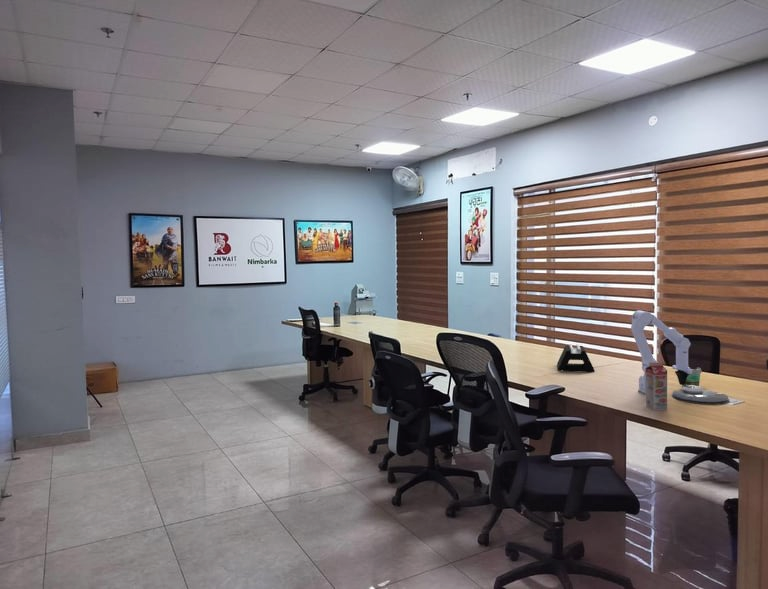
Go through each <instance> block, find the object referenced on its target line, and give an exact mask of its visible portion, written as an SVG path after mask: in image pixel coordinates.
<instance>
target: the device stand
mask: <svg viewBox="0 0 768 589" xmlns="http://www.w3.org/2000/svg"><path fill="white" fill-rule="evenodd" d="M570 361H582V363H571V362H570ZM556 363H557V364H556V365H557V371H558V370H563V371H562V372H574V371H586V372H585V373H595V372H596V371H595V368H594V366H593V363H592V362H591V360H590V358H589V355H588V354H587V352H586V350H585V347H584V346H583V345H580V344H578V343H576V347H573V345H572V343H569V345H565V346H564V348H563V350H562V352H561V354H560V356H559V359H558V361H557V362H556Z"/></svg>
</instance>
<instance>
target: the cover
mask: <svg viewBox="0 0 768 589" xmlns="http://www.w3.org/2000/svg"><path fill="white" fill-rule="evenodd" d="M703 388H704V387H702V386H700V385H699V386H695V385H684V386H683V387H682V389H683V392H685V393H691V394H701V393H703V390H704V389H703Z"/></svg>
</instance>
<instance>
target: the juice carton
mask: <svg viewBox="0 0 768 589" xmlns="http://www.w3.org/2000/svg"><path fill="white" fill-rule="evenodd" d="M645 407H646V408H647V407H648V409H649V408H651V409H650V410H652V411H665V410H666V411H667V410H668V369H666V367H665V366H664V362H663V361H659V362H655V363H649V367H647V368H646V394H645Z"/></svg>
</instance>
